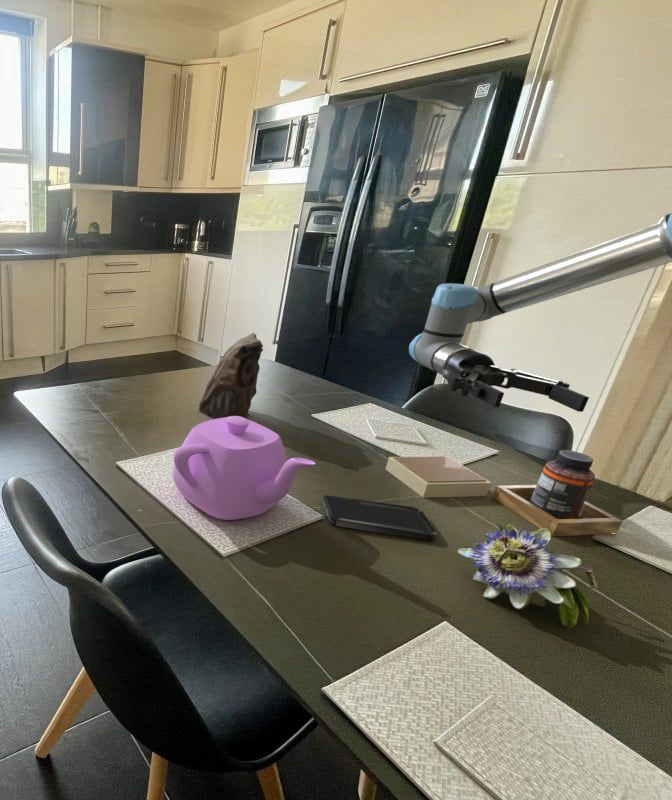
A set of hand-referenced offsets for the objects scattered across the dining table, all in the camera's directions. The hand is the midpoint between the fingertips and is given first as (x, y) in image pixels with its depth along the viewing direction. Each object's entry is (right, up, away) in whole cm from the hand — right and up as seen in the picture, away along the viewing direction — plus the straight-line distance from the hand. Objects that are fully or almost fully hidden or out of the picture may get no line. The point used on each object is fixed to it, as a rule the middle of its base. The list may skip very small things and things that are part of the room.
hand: (541, 402), depth 85 cm
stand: (-14, -15, +7) cm, 22 cm away
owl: (-44, -3, +35) cm, 57 cm away
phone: (-32, -19, -5) cm, 38 cm away
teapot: (-55, -17, 0) cm, 57 cm away
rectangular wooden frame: (-1, -19, -3) cm, 19 cm away
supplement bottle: (-1, -19, -3) cm, 19 cm away
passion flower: (-23, -26, -20) cm, 40 cm away
